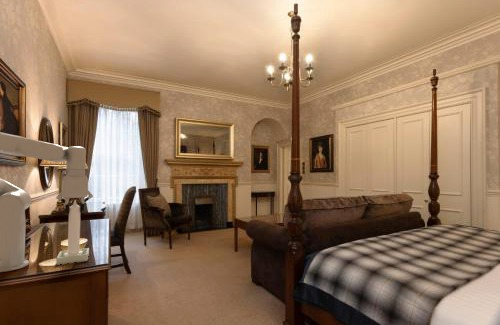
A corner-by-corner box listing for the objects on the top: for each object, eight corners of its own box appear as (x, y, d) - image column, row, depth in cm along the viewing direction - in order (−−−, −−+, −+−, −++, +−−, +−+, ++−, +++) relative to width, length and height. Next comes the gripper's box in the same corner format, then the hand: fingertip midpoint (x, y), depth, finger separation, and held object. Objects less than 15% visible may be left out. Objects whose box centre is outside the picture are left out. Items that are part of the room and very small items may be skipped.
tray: (87, 261, 120) (87, 254, 120) (56, 265, 115) (56, 258, 115) (88, 254, 131) (89, 247, 131) (60, 257, 125) (60, 251, 125)
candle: (60, 255, 121) (62, 200, 122) (76, 251, 127) (78, 198, 128) (69, 257, 118) (71, 201, 119) (85, 253, 124) (87, 199, 125)
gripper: (52, 173, 116) (51, 215, 116) (97, 173, 126) (96, 212, 125) (54, 173, 123) (52, 213, 122) (96, 173, 132) (95, 210, 131)
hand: (74, 212), depth 123 cm, fingers closed on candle, 4 cm apart
